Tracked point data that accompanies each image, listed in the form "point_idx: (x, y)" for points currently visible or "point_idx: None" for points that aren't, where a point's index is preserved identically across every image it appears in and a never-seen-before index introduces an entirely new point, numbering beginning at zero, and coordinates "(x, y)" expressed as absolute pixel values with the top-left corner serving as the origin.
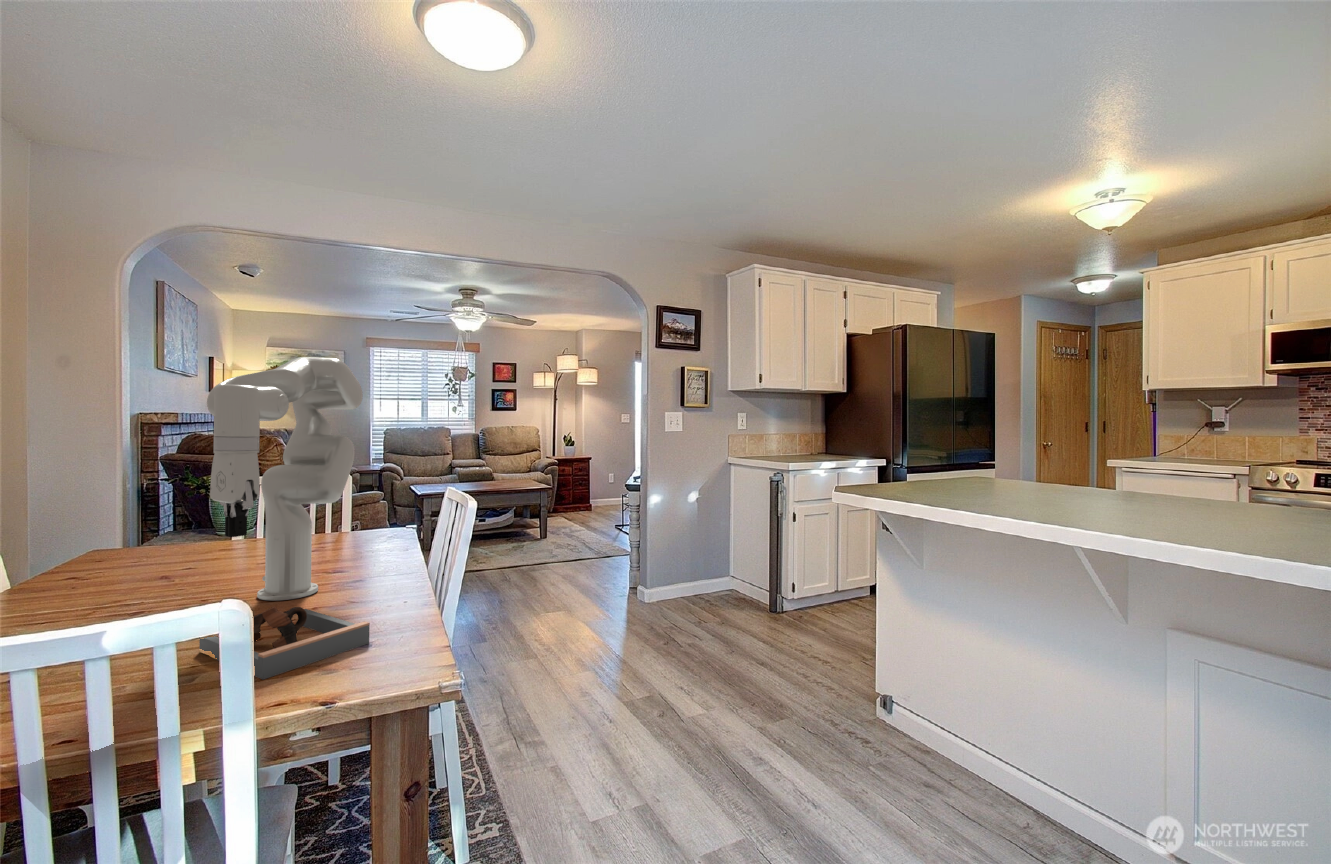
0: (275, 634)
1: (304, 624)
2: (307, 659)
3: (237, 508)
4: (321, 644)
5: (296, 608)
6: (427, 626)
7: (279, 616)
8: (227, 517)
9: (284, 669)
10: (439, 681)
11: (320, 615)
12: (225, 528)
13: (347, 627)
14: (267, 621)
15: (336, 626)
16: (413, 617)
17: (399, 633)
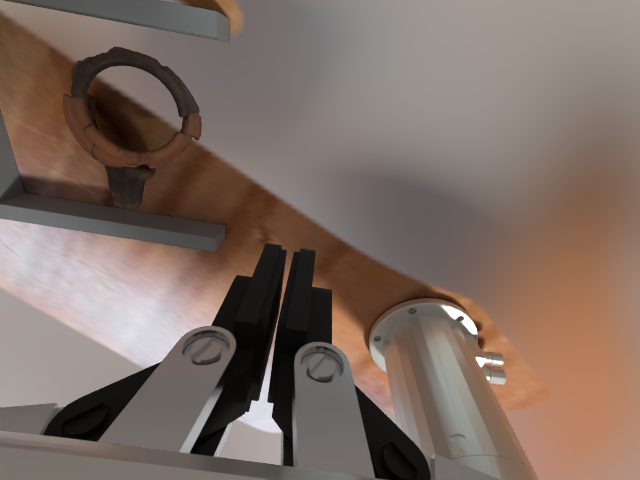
0: (208, 171)
1: (199, 223)
2: None
3: (117, 414)
4: None
5: (112, 192)
6: (32, 297)
7: (74, 131)
8: (283, 331)
9: None
10: None
11: (142, 233)
12: (308, 274)
13: None
14: (68, 97)
15: (76, 212)
16: (96, 319)
17: (30, 258)
